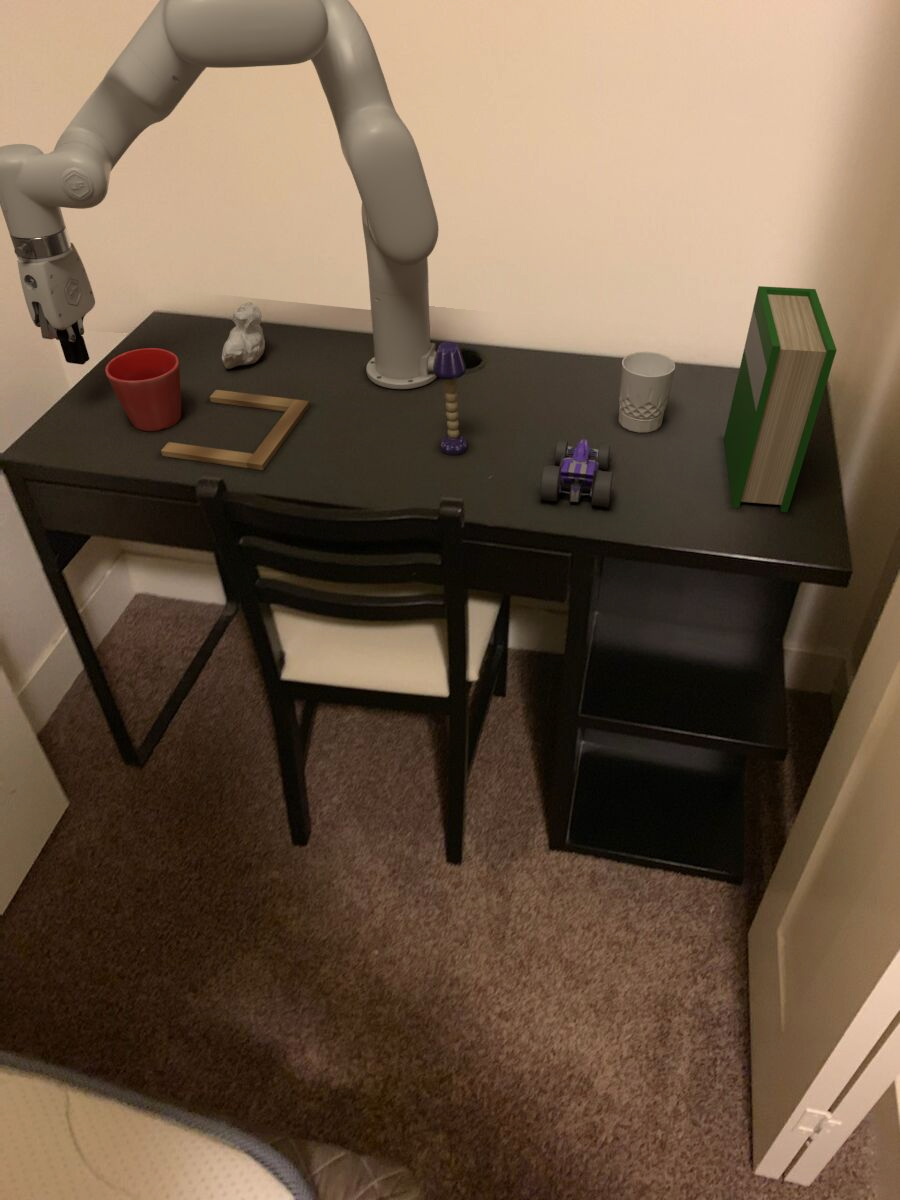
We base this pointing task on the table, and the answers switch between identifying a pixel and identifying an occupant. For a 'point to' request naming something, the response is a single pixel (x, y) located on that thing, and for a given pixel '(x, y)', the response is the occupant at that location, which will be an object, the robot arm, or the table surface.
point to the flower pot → (147, 387)
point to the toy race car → (578, 473)
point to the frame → (268, 446)
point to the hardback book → (777, 395)
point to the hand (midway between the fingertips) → (78, 361)
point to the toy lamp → (451, 394)
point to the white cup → (644, 390)
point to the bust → (244, 337)
